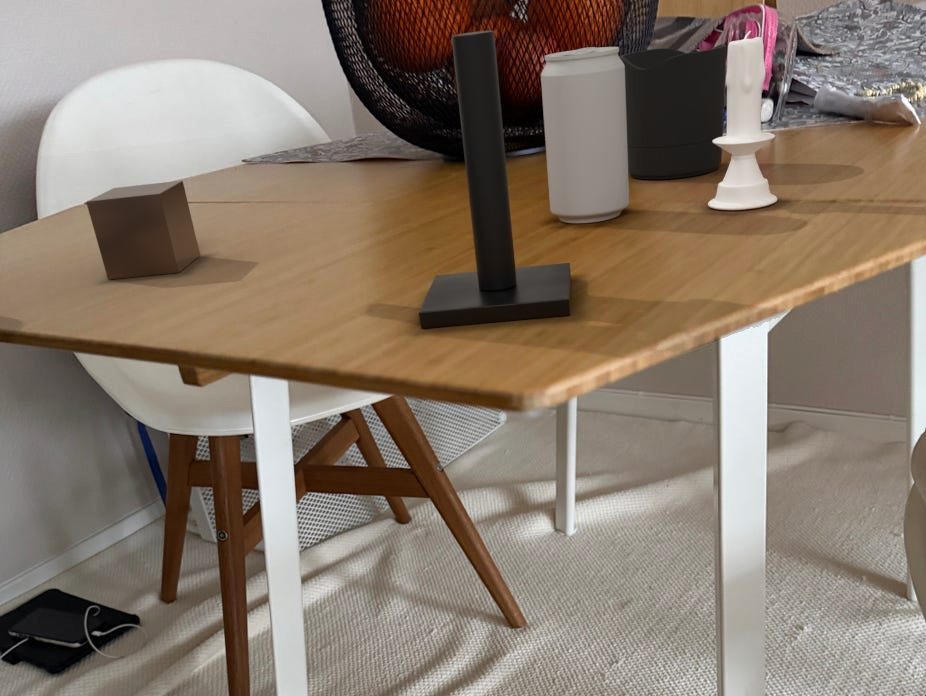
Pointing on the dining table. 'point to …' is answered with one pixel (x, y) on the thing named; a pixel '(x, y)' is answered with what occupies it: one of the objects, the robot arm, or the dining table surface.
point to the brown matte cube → (144, 230)
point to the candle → (744, 129)
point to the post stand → (490, 213)
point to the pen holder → (674, 111)
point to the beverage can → (586, 134)
